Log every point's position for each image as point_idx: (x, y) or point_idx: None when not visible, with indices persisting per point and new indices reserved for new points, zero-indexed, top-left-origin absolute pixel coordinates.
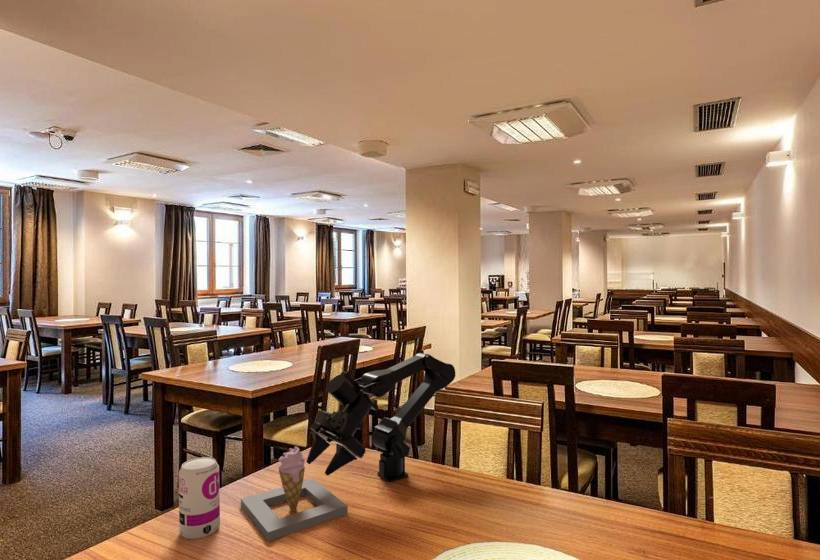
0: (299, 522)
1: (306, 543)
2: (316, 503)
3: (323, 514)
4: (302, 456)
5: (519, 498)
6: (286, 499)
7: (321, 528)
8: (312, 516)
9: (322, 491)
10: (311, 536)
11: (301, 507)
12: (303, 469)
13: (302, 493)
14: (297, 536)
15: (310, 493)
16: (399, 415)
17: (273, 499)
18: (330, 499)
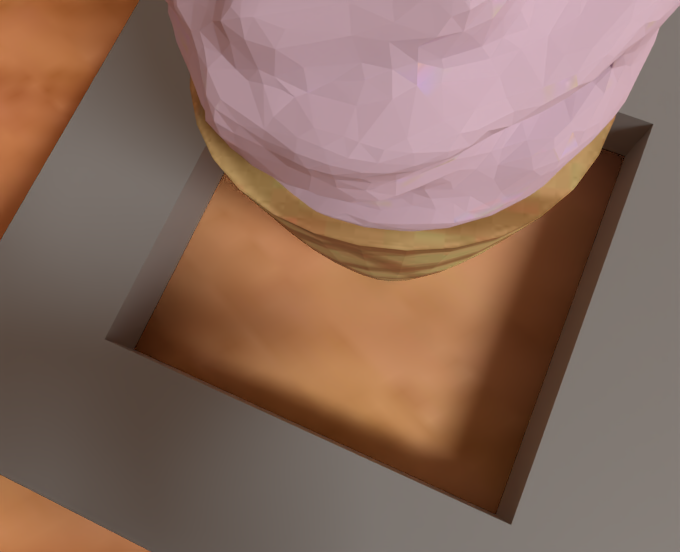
0: (119, 42)
1: (14, 5)
2: (267, 411)
3: (21, 212)
4: (282, 110)
5: None
6: (563, 338)
7: (25, 170)
8: (73, 137)
9: (286, 546)
10: (31, 70)
11: (362, 323)
12: (200, 111)
13: (512, 489)
14: (113, 28)
15: (383, 465)
16: None
17: (613, 219)
18: (107, 443)
